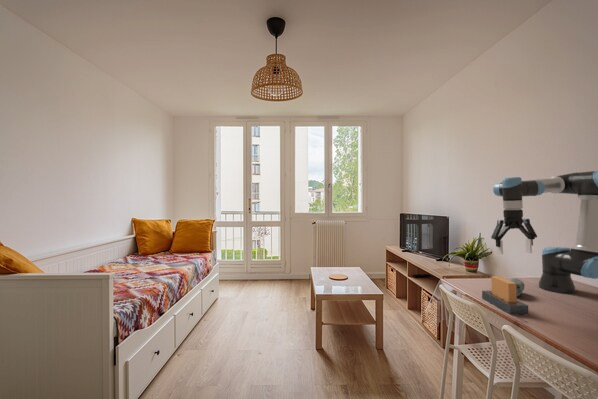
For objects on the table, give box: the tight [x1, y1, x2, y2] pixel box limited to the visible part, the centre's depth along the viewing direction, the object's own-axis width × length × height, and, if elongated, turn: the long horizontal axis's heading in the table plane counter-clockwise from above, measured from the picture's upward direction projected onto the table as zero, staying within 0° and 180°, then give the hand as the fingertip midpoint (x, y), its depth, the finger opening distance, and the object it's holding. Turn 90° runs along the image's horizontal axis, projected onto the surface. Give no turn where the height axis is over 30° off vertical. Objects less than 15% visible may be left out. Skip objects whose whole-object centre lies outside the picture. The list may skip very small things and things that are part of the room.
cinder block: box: [481, 290, 529, 316], centre depth 135 cm, size 8×20×4 cm, turn 178°
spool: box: [507, 277, 525, 297], centre depth 151 cm, size 14×10×10 cm
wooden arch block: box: [490, 275, 518, 302], centre depth 135 cm, size 4×12×12 cm, turn 178°
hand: (514, 253), depth 138 cm, fingers open, 13 cm apart
